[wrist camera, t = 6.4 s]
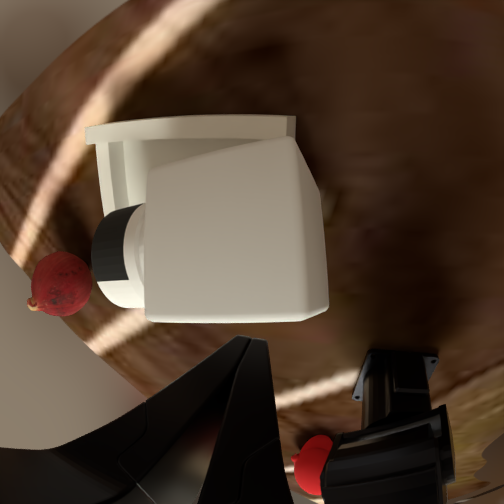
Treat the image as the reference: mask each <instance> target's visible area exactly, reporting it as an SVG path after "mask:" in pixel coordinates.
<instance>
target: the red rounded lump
mask: <svg viewBox="0 0 504 504" xmlns="http://www.w3.org/2000/svg"><path fill="white" fill-rule="evenodd" d="M91 289H92V277H91V273H90V270H89V268H88V265H87V264H86V262H85V261H83V260H82V259H80V258H79V257H77V256H76V255H74V254H72V253H68V252H62V251H57V252H55V253H52V254H50V255H48V256H45V257H44V258H43V259H42V260H40V262H39V263H38V265H37V266H36V268H35V271H34V274H33V277H32V282H31V290H32V298H29V299H28V300H27V307H29V308H30V309H31V310H32V311H44V312H45V313H47V314H49V315H53V316H68V315H71V314H74V313H75V312H77V311H78V310H80V309H81V308H82V307H83V306H84V305H85V303H86V302H87V301H88V300H89V296H90V293H91Z"/></svg>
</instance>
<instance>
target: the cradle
mask: <svg viewBox="0 0 504 504" xmlns="http://www.w3.org/2000/svg"><path fill="white" fill-rule="evenodd" d="M295 131H296V116H287V115H260V114H212V115H186V116H169V117H156V118H145V119H135V120H126V121H118V122H111V123H106V124H100V125H95V126H90V127H85V139H86V145H88V144H96V153H97V164H98V173H99V181H100V189H101V197H102V204H103V210H104V217H105V216H106V215H107V214H109V213H110V212H112V211H115V210H118V209H122V208H126V207H130V206H134V205H138V204H142V203H146V186H147V175H148V171H149V170H150V169H152V168H154V167H157V166H161V165H164V164H167V163H171V162H175V161H178V160H182V159H186V158H189V157H193V156H197V155H201V154H205V153H209V152H213V151H217V150H221V149H225V148H230V147H234V146H238V145H243V144H248V143H252V142H257V141H262V140H267V139H272V138H277V137H283V136H290V137H292V138H293V139H295Z"/></svg>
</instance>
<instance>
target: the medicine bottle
mask: <svg viewBox="0 0 504 504" xmlns="http://www.w3.org/2000/svg"><path fill="white" fill-rule="evenodd" d="M91 260H92V268H93V272H94V275H95V278H96V281H97V283H98V285H99V287H100V289H101V290H102V292H103V293H104V295H105V296H106V297H107V298H108V299H109V300H110V301H111V302H113V303H114V304H116V305H118V306H120V307H124V308H145V316H146V318H147V319H148V320H150V321H152V322H176V323H255V322H288V321H302V320H305V319H307V318H310V317H312V316H315V315H317V314H319V313H322V312H324V311H326V310H327V309H328V308H329V293H328V277H327V262H326V249H325V238H324V227H323V216H322V207H321V197H320V192H319V189H318V187H317V185H316V183H315V181H314V179H313V176H312V174H311V172H310V170H309V168H308V166H307V164H306V162H305V159H304V157H303V155H302V153H301V151H300V149H299V147H298V145H297V143H296V141H295V139H293V138H292V137H290V136H283V137H277V138H272V139H267V140H262V141H257V142H252V143H248V144H243V145H238V146H234V147H230V148H225V149H221V150H217V151H213V152H209V153H205V154H201V155H197V156H193V157H189V158H186V159H182V160H178V161H175V162H171V163H167V164H164V165H161V166H157V167H154V168H152V169H150V170H149V171H148V175H147V186H146V203H142V204H138V205H134V206H130V207H126V208H122V209H118V210H115V211H112V212H110V213H109V214H107V215H106V216H105V217H104V218H103V219H102V221H101V222H100V224H99V225H98V227H97V229H96V232H95V235H94V238H93V243H92V250H91Z"/></svg>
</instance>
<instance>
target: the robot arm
mask: <svg viewBox="0 0 504 504" xmlns="http://www.w3.org/2000/svg"><path fill="white" fill-rule="evenodd" d="M373 354H374V355H373ZM438 362H439V358H438V355H437V354H427V353H414V352H402V351H391V350H381V349H371V350H369V351H368V352H367V355H366V358H365V361H364V364H363V367H362V369H361V372H360V375H359V378H358V380H357V383H356V385H355V388H354V391H353V393H352V399H353V400H356V401H362V423H361V430H358V431H353V432H348V433H344V432H343V433H338V434H336V437H335V439H334V442H333V444H332V447H331V450H330V452H329V455H328V457H327V460H326V462H325V464H324V467H323V470H322V472H321V474H320V489H321V495H322V498H323V500H324V504H447V485H448V484H451V483H454V482H456V473H455V453H454V445H453V437H452V431H451V426H450V421H449V417H448V412H447V408H446V404H443V405H441V406H439V407H438V408H436V409H433V410H432V407H431V400H430V394H429V384H428V380H429V379H430V377H431V375H432V373H433V371H434V370H435V368H436V366H437V364H438ZM279 439H280V436H279V428H278V420H277V412H276V404H275V396H274V388H273V380H272V373H271V365H270V357H269V349H268V342H267V340H264V339H258V338H253V339H252V338H251V337H248V336H242V335H237V336H235V337H234V338H232V339H231V340H230V341H228V342H227V343H226V344H224V345H223V346H222V347H220V348H219V349H218V350H216V351H215V352H214V353H212V354H211V355H210V356H208V357H207V358H205V359H204V360H203V361H201V362H200V363H199V364H197V365H196V366H194V367H193V368H192V369H190V370H189V371H187V372H186V373H185V374H183V375H182V376H180V377H179V378H178V379H176V380H175V381H173V382H172V383H170V384H169V385H168V386H166V387H165V388H163V389H162V390H160V391H159V392H157V393H156V394H155V395H153V396H152V397H150V398H149V399H147V400H146V403H145V402H143V403H141V404H140V405H138V406H137V407H135V408H134V409H132V410H131V411H129V412H127V413H126V414H124V415H122V416H121V417H119V418H118V419H116V420H114V421H112V422H110V423H108V424H106V425H104V426H102V427H100V428H99V429H96V430H94V431H92V432H90V433H88V434H86V435H84V436H81V437H79V438H77V439H75V440H73V441H71V442H68V443H66V444H64V445H61V446H58V447H55V448H51V449H44V450H30V449H28V450H27V449H13V448H1V447H0V504H193V502H194V500H195V498H196V496H197V494H198V492H199V490H200V488H201V486H202V485H203V487H202V490H201V494H200V497H199V501H198V503H197V504H294V502H293V499H292V496H291V492H290V489H289V485H288V481H287V477H286V474H285V469H284V463H283V457H282V451H281V443H280V440H279Z"/></svg>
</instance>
